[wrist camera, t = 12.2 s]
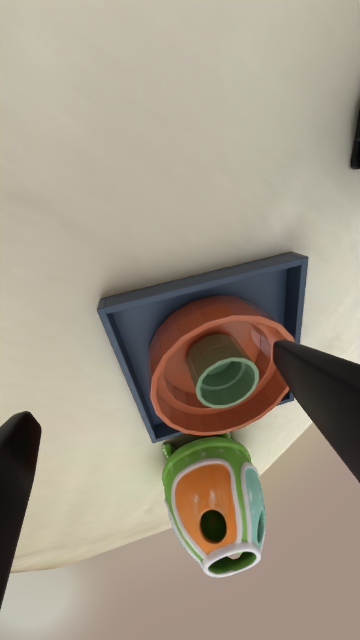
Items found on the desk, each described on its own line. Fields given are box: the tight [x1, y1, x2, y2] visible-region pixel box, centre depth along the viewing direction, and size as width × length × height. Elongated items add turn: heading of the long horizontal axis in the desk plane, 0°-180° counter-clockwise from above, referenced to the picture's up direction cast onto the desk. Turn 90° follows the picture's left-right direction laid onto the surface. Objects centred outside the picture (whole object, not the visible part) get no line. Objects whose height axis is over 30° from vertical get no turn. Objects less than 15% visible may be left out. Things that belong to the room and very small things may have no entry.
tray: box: [97, 252, 308, 443], centre depth 24 cm, size 18×18×2 cm
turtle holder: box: [162, 432, 265, 577], centre depth 29 cm, size 12×18×12 cm
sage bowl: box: [186, 334, 259, 408], centre depth 22 cm, size 6×6×4 cm
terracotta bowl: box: [147, 295, 295, 436], centre depth 22 cm, size 14×14×5 cm
